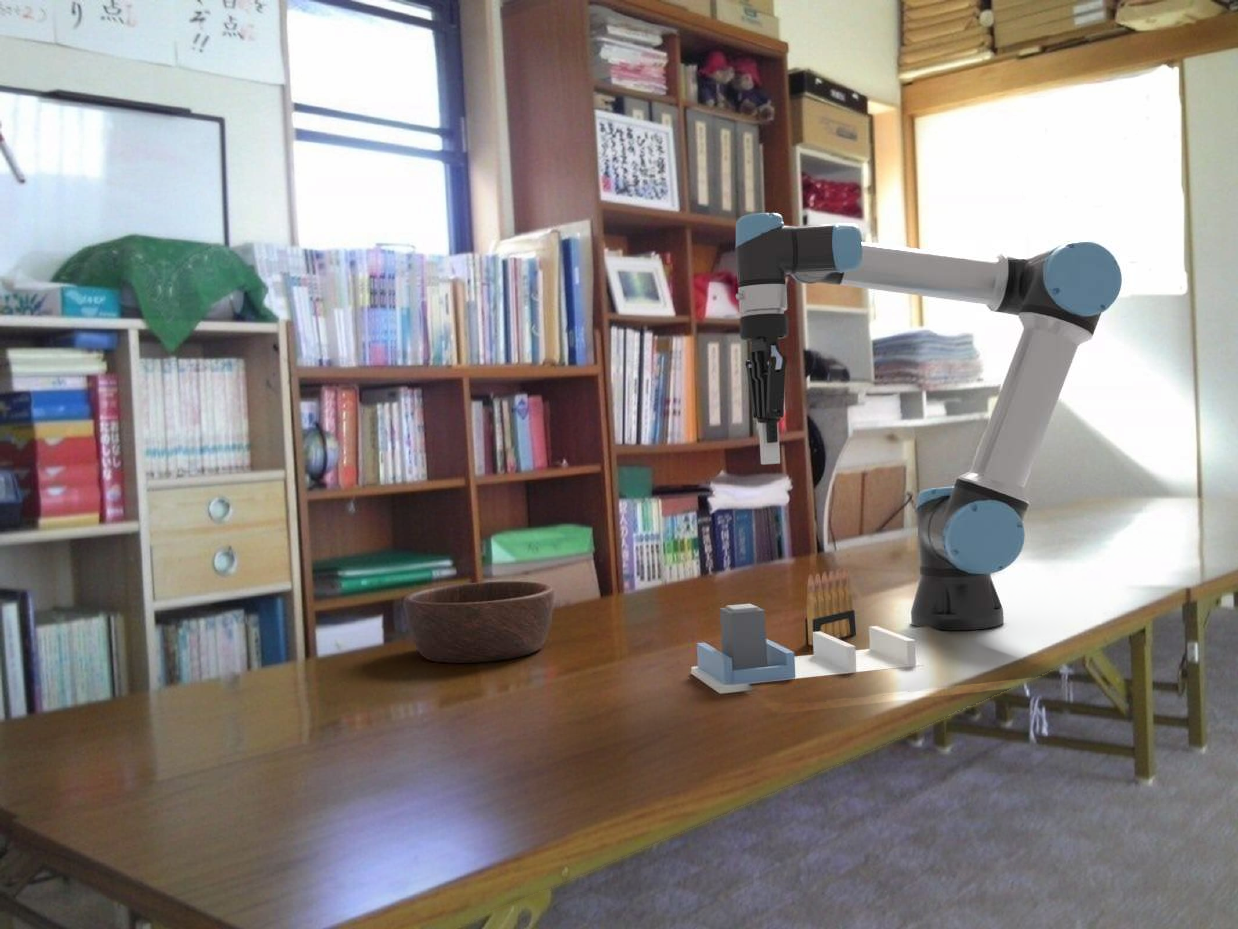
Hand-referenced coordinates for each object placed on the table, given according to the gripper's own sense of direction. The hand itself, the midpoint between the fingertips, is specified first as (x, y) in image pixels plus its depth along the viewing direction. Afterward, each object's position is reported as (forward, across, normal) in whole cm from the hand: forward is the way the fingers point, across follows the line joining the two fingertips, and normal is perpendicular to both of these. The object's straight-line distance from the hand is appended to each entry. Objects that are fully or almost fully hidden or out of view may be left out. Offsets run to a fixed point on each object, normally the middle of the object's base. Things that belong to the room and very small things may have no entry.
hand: (770, 463), depth 198 cm
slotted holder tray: (+29, +19, -3) cm, 35 cm away
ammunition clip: (+30, +2, +8) cm, 31 cm away
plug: (+28, +19, -12) cm, 36 cm away
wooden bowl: (+30, -21, -45) cm, 58 cm away
